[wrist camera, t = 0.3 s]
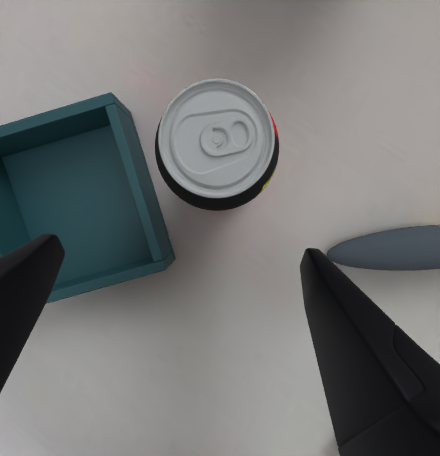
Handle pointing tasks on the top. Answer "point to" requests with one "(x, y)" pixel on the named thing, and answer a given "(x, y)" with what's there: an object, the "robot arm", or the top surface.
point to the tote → (82, 194)
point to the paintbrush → (392, 250)
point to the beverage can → (216, 145)
